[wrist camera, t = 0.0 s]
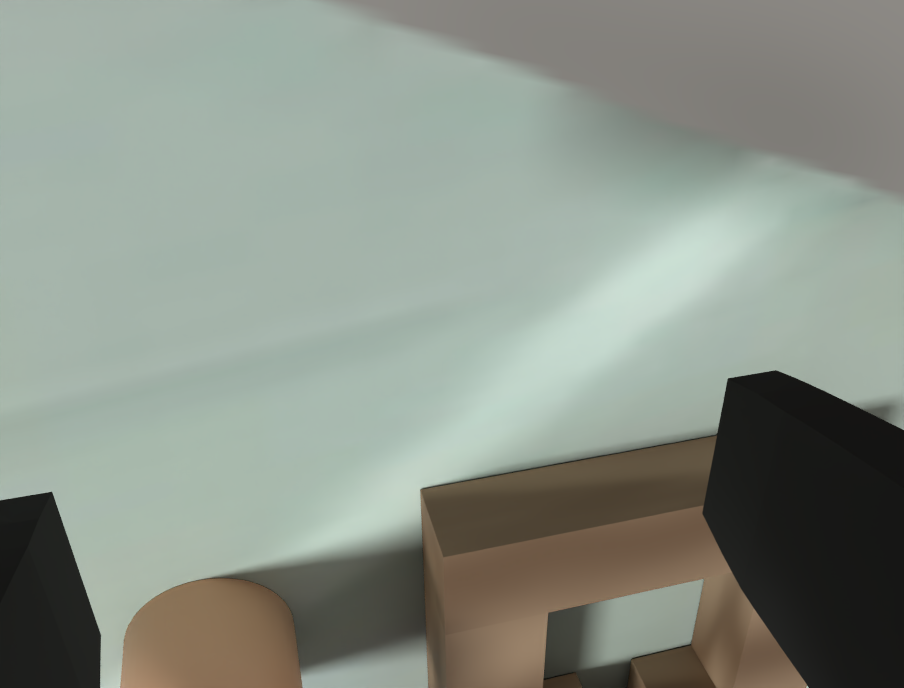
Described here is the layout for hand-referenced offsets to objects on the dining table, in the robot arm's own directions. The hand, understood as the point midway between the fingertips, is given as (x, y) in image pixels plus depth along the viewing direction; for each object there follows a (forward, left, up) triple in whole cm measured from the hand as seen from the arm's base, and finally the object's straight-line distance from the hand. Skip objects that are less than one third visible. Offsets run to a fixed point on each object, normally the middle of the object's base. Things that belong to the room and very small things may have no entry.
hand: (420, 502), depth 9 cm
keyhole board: (-15, -8, -10) cm, 20 cm away
